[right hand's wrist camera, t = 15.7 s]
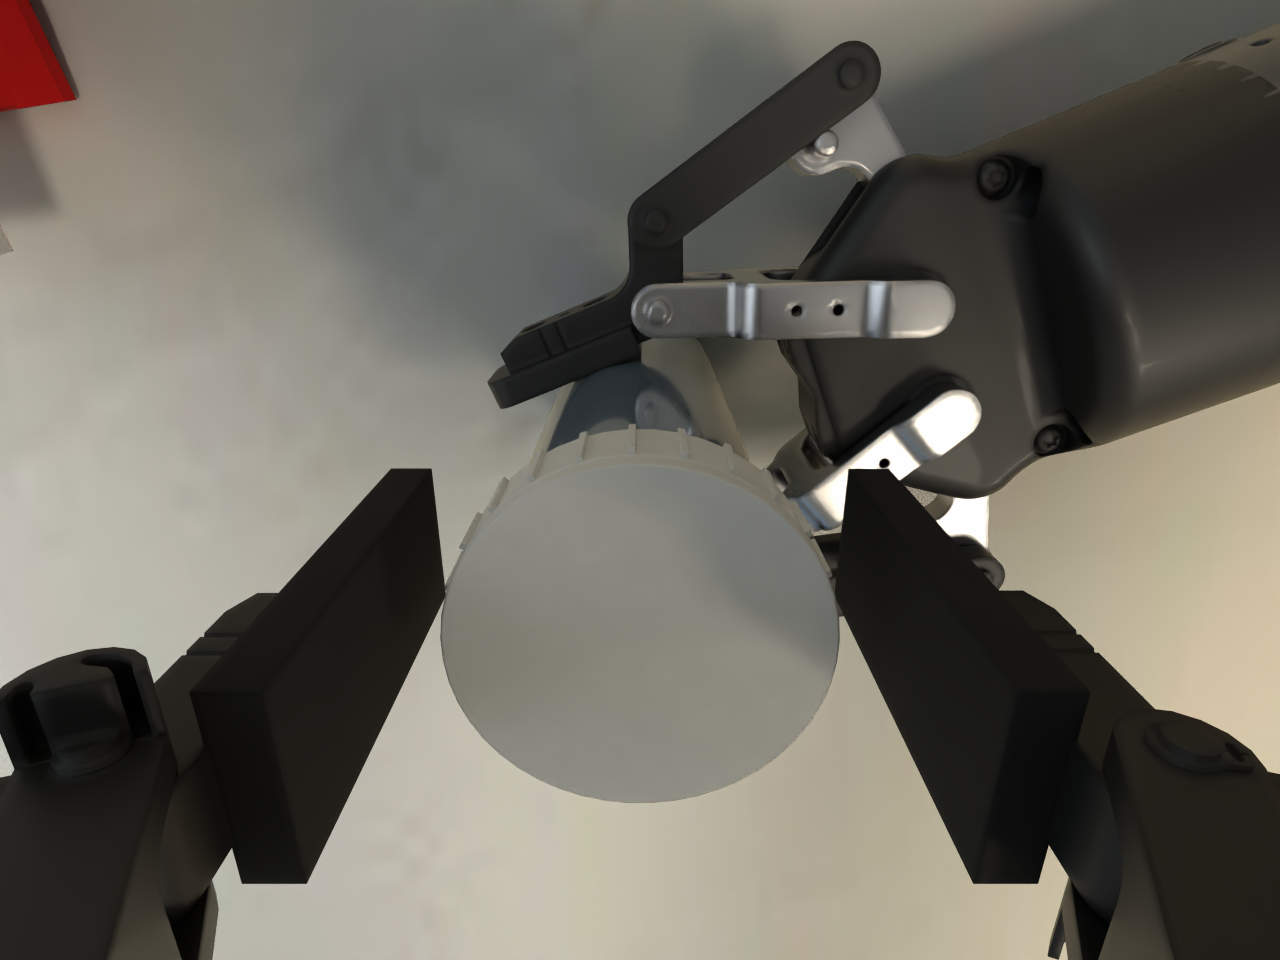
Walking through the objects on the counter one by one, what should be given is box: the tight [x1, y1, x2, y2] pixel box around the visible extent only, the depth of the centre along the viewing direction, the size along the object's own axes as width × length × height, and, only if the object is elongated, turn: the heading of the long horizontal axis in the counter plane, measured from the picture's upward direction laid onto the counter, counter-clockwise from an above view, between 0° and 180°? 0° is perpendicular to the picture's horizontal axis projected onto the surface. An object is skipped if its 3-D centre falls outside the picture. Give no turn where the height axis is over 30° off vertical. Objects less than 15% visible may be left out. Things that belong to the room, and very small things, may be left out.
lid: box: [440, 424, 840, 803], centre depth 11 cm, size 6×6×2 cm
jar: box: [530, 338, 752, 464], centre depth 18 cm, size 5×5×15 cm
